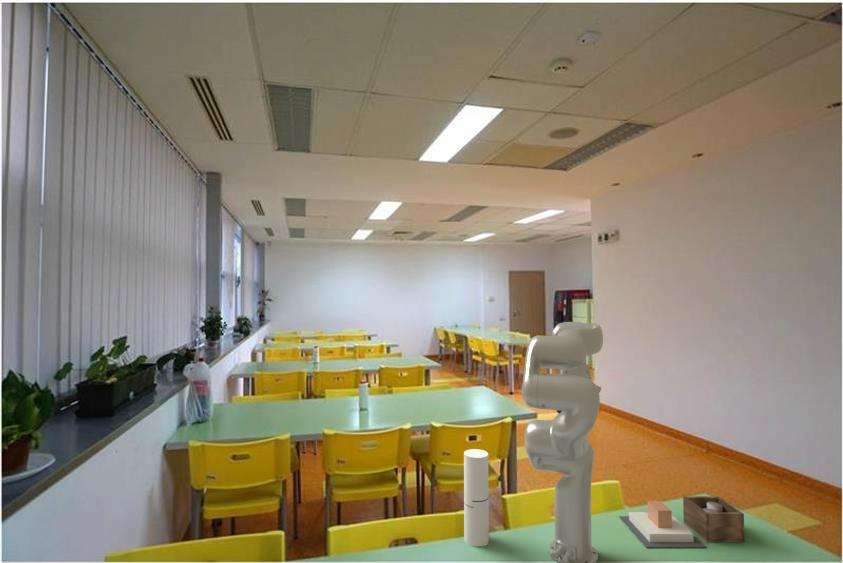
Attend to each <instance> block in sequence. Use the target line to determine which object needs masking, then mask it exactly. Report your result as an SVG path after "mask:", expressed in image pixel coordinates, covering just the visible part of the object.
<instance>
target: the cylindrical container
mask: <svg viewBox="0 0 843 563" xmlns="http://www.w3.org/2000/svg"><path fill="white" fill-rule="evenodd" d="M489 492H490V491H489V453H488V452H487V451H486V450H484V449H479V448H478V449H477V448H470V449H467V450H464V452H463V503H464V504H463V515H464V516H463V520H464V521H463V527H464V528H463V534H464V535H463V538H464V543H465V544H467V543H468V544H467V545H469V546H471V545H472V546H471V547H475V546H481V547H484V546H483V545H485V544H487V543H488V544H489V542H490V532H489V531H490V529H489V528H490V527H489V526H490V524H489V522H490V517H489V515H490V514H489V509H490V508H489V506H490V505H489V495H490V494H489ZM488 541H489V542H488ZM488 544H487V545H488ZM485 546H486V545H485Z"/></svg>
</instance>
